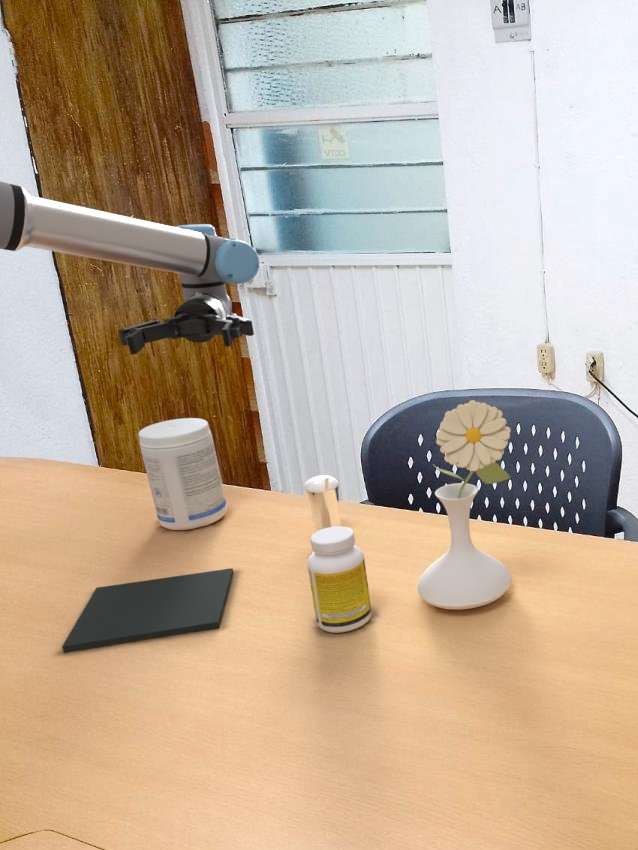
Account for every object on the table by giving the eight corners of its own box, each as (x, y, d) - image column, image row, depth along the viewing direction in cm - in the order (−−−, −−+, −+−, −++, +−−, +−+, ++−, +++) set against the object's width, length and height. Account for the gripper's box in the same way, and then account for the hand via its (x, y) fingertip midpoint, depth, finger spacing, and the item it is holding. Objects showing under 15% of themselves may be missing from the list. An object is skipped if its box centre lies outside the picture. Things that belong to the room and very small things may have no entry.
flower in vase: (400, 611, 98) (376, 410, 90) (445, 567, 108) (427, 383, 100) (502, 627, 94) (487, 418, 86) (538, 580, 105) (528, 389, 96)
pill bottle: (383, 617, 97) (372, 532, 93) (337, 640, 93) (324, 551, 89) (351, 601, 101) (340, 518, 97) (306, 623, 96) (292, 536, 93)
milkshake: (320, 549, 115) (310, 482, 111) (308, 536, 119) (297, 471, 115) (352, 540, 117) (343, 474, 114) (339, 527, 121) (330, 463, 118)
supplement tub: (232, 503, 131) (215, 414, 126) (222, 527, 122) (204, 433, 117) (166, 510, 129) (146, 420, 124) (151, 536, 120) (129, 440, 115)
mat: (63, 652, 92) (61, 646, 91) (97, 593, 104) (96, 587, 104) (219, 627, 96) (217, 621, 96) (233, 573, 108) (232, 567, 108)
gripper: (118, 302, 145) (84, 324, 126) (270, 292, 151) (259, 311, 132) (128, 344, 147) (96, 372, 128) (276, 333, 154) (267, 357, 135)
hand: (179, 341), depth 130 cm, fingers open, 13 cm apart
